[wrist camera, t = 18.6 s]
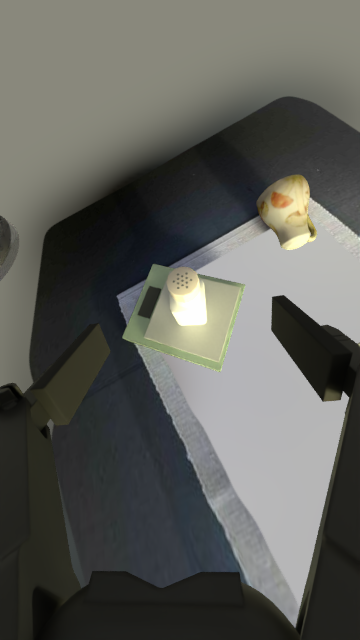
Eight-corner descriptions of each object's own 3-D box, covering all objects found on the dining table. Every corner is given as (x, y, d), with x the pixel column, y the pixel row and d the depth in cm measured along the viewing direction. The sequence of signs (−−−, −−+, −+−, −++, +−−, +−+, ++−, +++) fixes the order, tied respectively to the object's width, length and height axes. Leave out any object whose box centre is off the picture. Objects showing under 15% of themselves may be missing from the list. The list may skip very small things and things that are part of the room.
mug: (274, 265, 32) (265, 202, 25) (259, 238, 38) (249, 182, 32) (328, 247, 29) (333, 171, 23) (302, 221, 36) (301, 157, 29)
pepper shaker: (205, 298, 29) (202, 260, 20) (207, 325, 27) (204, 298, 18) (178, 300, 29) (162, 264, 20) (178, 327, 28) (162, 301, 19)
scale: (127, 340, 32) (119, 336, 29) (156, 270, 35) (151, 260, 32) (220, 372, 28) (220, 371, 25) (243, 291, 31) (246, 281, 28)
